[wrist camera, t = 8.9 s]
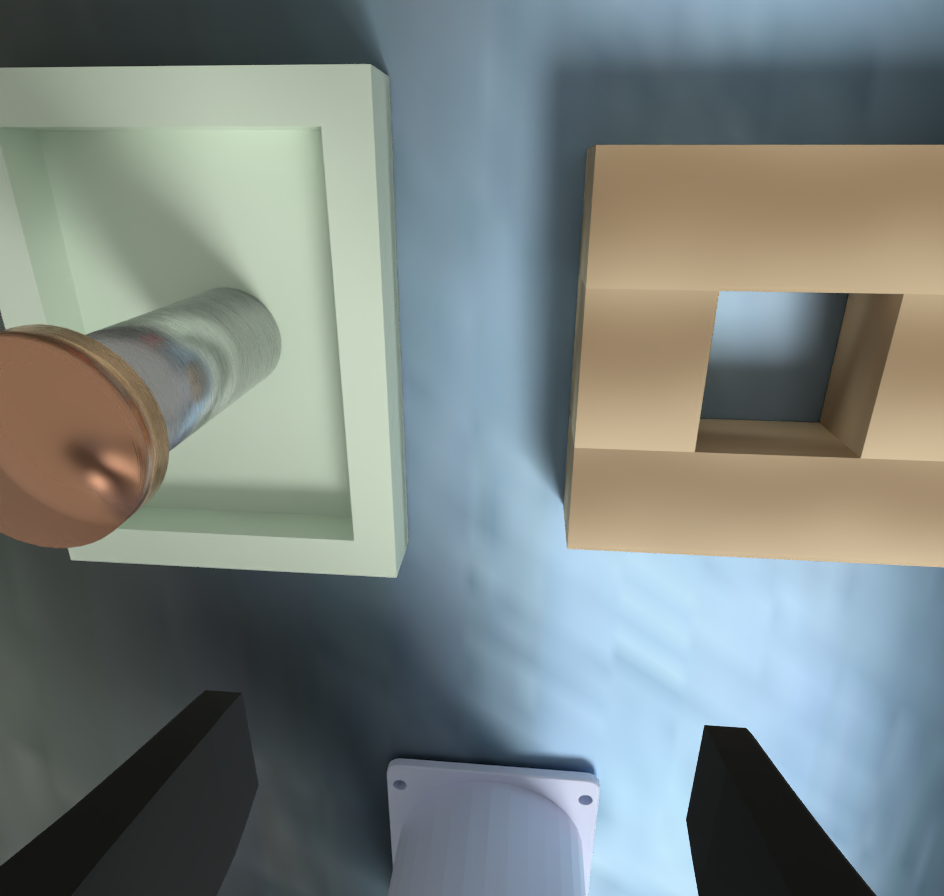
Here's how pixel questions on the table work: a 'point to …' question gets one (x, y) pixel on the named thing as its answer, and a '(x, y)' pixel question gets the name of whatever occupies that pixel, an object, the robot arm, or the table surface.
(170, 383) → the pin
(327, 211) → the tray
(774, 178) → the socket block
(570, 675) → the table surface
